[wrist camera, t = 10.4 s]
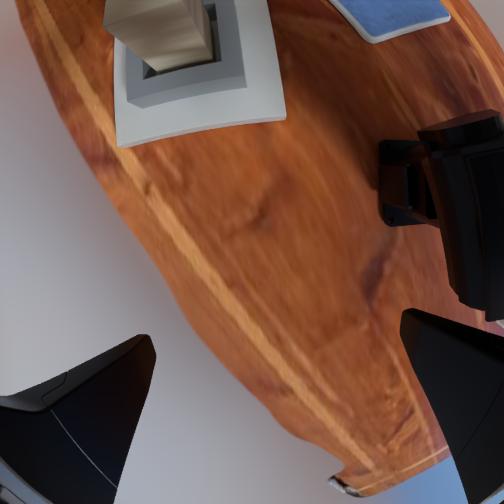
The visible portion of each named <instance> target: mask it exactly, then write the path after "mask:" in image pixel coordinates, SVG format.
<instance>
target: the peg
mask: <svg viewBox="0 0 504 504" xmlns="http://www.w3.org/2000/svg"><path fill="white" fill-rule="evenodd" d="M103 28H104V29H105V30H107V31H108V32H109V33H111V34H112V35H113V36H114V37H116V38H117V39H118V40H119V41H121V42H122V43H123V44H124V45H126V46H127V47H128V48H129V49H131V50H132V51H133V52H134V53H136V54H137V55H138V56H139V57H140V58H142V59H143V60H144V61H145V62H146V63H147V64H149V65H150V66H151V67H152V68H153V69H155V70H156V71H157V72H158V73H159V74H160V75H162V74H165V73H169V72H173V71H177V70H181V69H185V68H190V67H195V66H199V65H204V64H210V63H215V62H217V59H216V49H215V39H214V29H213V27H212V24H211V22H210V19H209V17H208V14H207V11H206V9H205V6H204V4H203V1H202V0H106V4H105V11H104V19H103Z"/></svg>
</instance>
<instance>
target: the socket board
mask: <svg viewBox="0 0 504 504" xmlns="http://www.w3.org/2000/svg"><path fill="white" fill-rule="evenodd" d="M202 1H203V4H204V6H205V9H206V11H207V14H208V17H209V19H210V22H211V24H212V27H213V29H214V39H215V49H216V59H217V62H215V63H210V64H204V65H199V66H195V67H190V68H185V69H181V70H177V71H173V72H169V73H165V74H162V75H160V74H159V73H158V72H157V71H156V70H155V69H153V68H152V67H151V66H150V65H149V64H147V63H146V62H145V61H144V60H143V59H142V58H140V57H139V56H138V55H137V54H136V53H134V52H133V51H132V50H131V49H129V48H128V47H127V46H126V45H124V44H123V43H122V42H121V41H119V40H118V39H117V38H116V37H115V46H114V102H115V122H116V136H117V147H125V148H128V147H131V146H135V145H139V144H143V143H147V142H151V141H155V140H159V139H163V138H168V137H172V136H177V135H182V134H187V133H192V132H197V131H203V130H209V129H215V128H221V127H228V126H235V125H242V124H250V123H259V122H269V121H280V120H285V119H286V116H287V115H286V108H285V101H284V95H283V88H282V82H281V75H280V69H279V63H278V57H277V52H276V46H275V41H274V35H273V30H272V25H271V20H270V15H269V10H268V5H267V0H202Z"/></svg>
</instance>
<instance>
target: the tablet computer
mask: <svg viewBox="0 0 504 504" xmlns="http://www.w3.org/2000/svg"><path fill="white" fill-rule="evenodd" d="M329 1H330V2H331V3H332V4H333V5H334V6H335V7H336V8H337V9H338V11H339V12H340V13H341V14H342V15H343V16H344V17H345V18H346V19H347V20H348V21H349V22H350V23H351V25H352V26H353V27H354V28H355V29H356V31H357V32H358V33H359V34H360V36H361V37H362V38H363V39H364V40H366V41H367V42H369V43H373V44H375V43H379V42H382V41H384V40H387V39H390V38H393V37H396V36H399V35H402V34H406V33H409V32H412V31H416V30H419V29H422V28H426V27H429V26H433V25H437V24H441V23H445V22H448V21H449V20H450V18H451V16H450V13H449V12H448V10H447V9H446V8H445V7H444V6H443V4H442V3H441V2H440V1H439V0H329Z"/></svg>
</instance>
